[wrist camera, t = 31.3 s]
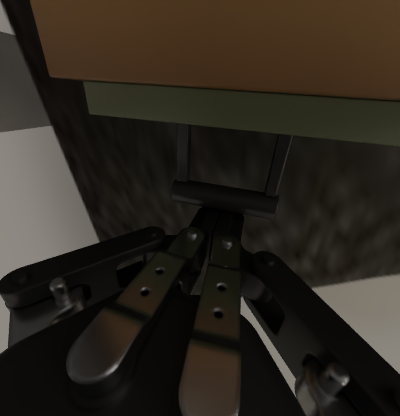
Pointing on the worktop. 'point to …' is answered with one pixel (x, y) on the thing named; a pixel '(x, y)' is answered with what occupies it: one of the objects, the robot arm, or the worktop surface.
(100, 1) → the cabinet
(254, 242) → the worktop surface
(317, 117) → the drawer
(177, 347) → the robot arm
